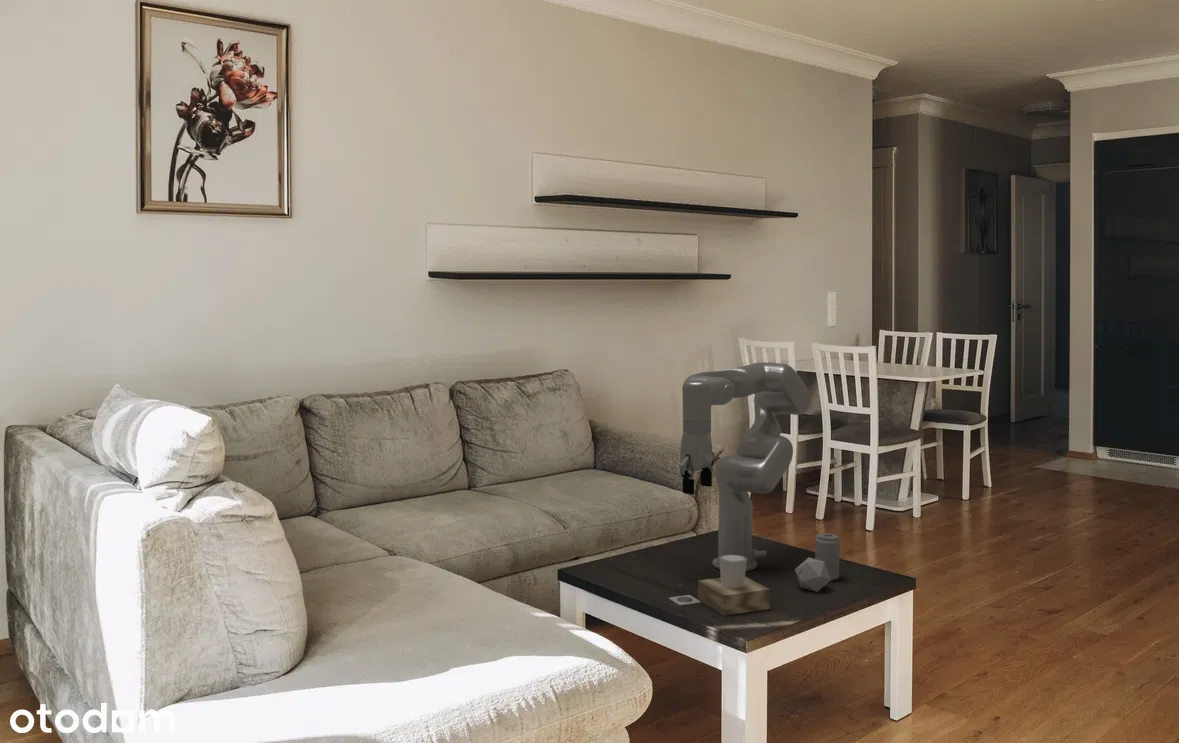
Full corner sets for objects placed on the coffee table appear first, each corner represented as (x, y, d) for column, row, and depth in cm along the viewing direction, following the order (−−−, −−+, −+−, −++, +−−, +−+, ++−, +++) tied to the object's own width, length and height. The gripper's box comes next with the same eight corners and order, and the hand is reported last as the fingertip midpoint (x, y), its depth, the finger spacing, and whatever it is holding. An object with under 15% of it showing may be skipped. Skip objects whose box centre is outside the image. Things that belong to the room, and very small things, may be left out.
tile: (689, 595, 251) (689, 594, 251) (700, 602, 246) (700, 601, 246) (668, 598, 249) (668, 597, 249) (679, 605, 243) (679, 604, 243)
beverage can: (840, 576, 268) (841, 534, 267) (836, 583, 262) (837, 539, 261) (817, 573, 271) (818, 531, 270) (812, 580, 265) (813, 536, 264)
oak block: (741, 593, 253) (742, 574, 253) (769, 608, 241) (770, 589, 241) (697, 599, 248) (698, 580, 248) (724, 615, 236) (724, 595, 236)
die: (799, 584, 263) (786, 560, 259) (827, 569, 263) (815, 545, 258) (810, 604, 256) (797, 580, 252) (839, 588, 255) (827, 564, 251)
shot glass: (746, 590, 240) (746, 562, 239) (718, 588, 241) (718, 560, 241) (746, 581, 247) (747, 554, 246) (719, 580, 248) (719, 553, 247)
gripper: (700, 420, 268) (700, 481, 270) (668, 430, 254) (668, 494, 256) (724, 422, 264) (725, 484, 266) (693, 433, 250) (694, 498, 252)
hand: (697, 489), depth 261 cm, fingers open, 9 cm apart
